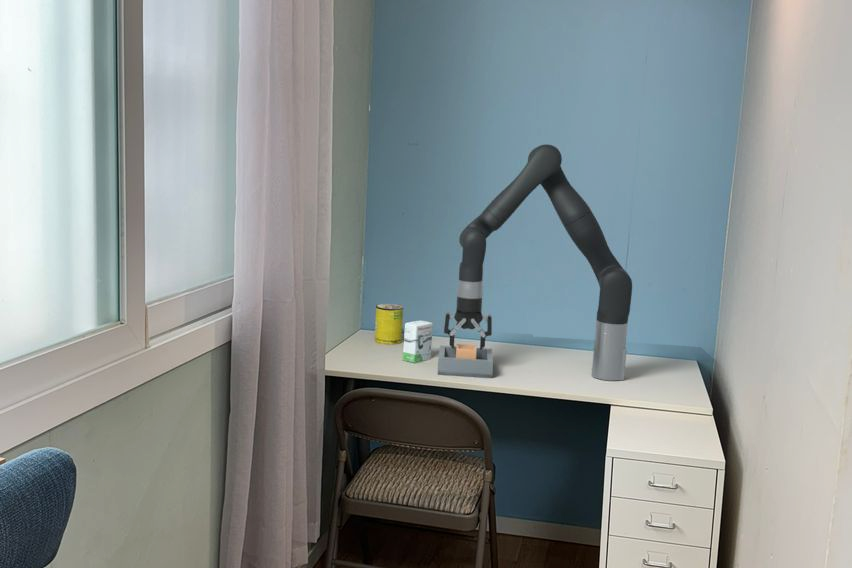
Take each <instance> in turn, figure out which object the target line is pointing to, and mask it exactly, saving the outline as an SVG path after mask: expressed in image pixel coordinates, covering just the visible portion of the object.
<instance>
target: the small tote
mask: <svg viewBox="0 0 852 568" xmlns="http://www.w3.org/2000/svg"><path fill="white" fill-rule="evenodd" d="M477 348H478V347H477V345H476V344H475V345H474V344H462V343H456V358H465V359H476V351H477Z"/></svg>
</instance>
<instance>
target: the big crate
mask: <svg viewBox="0 0 852 568" xmlns="http://www.w3.org/2000/svg"><path fill="white" fill-rule="evenodd" d="M456 347H457V345H456V346H455V345H454V348H452V346H450V345H440V346H439V352H438V358H437V359H438V361H437V376H438V375H439V376H449V377H450V376H452V377H465V378H467V377H469V378H484V379H492V378H493V371H494V370H493V369H494V368H493V367H494V358H493V349H492V348H486V347H484V348H482V349H480V347H477V351H476V359H465V358H456Z"/></svg>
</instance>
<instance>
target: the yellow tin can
mask: <svg viewBox="0 0 852 568" xmlns="http://www.w3.org/2000/svg"><path fill="white" fill-rule="evenodd" d="M403 312H404V306H403V305H399V304H396V303H395V304H393V303H380V304H379V303H378V304H376V305H375V323H374V324H375V325H374V342H375V343H377V344H380V345H386V346H387V345H390V346H391V345H393V346H394V345H400V344H401V343H402V336H403V335H402V334H403V333H402V332H403V317H404V316H403V315H404V313H403Z"/></svg>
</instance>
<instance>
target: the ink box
mask: <svg viewBox="0 0 852 568" xmlns="http://www.w3.org/2000/svg"><path fill="white" fill-rule="evenodd" d="M433 327H434V323H433V322H430V321H426V320H422V319H421V320H415V321H409V322H406V323H404V334H403V337H404V338H403V350H402V351H403V353H402V361H405V362H409V363H412V364H416V363H421V362H424V361H428V360H431V359H432V347H433V346H432V344H433V343H432V341H433Z"/></svg>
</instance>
